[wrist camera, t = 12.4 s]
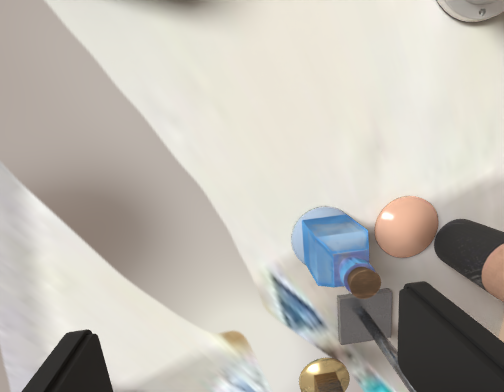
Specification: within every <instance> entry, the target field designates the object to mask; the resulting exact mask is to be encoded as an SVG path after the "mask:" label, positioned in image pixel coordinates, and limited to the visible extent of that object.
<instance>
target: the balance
mask: <svg viewBox="0 0 504 392" xmlns="http://www.w3.org/2000/svg"><path fill="white" fill-rule="evenodd" d="M337 303H338V334H339V342H340V344H341V345H345V344H351V343H358V342H364V341H371V340H375V342H376V343H377V345H378V346H379V348H380V349H381V351H382V352H383V354H384V355H385V356H386V358H387V359H388V361H389V362H390V364H391V365H392V367H393V368H394V369H395V371H396V372H397V374H398V375H399V377H400V378H401V380H402V381H403V383H404V384H405V385H406V387H407V388H408V390H409V391H410V392H415V390H414V389H413V387H412V386H411V385H410V383H409V382H408V380H407V379H406V378H405V376H404V375H403V373H402V372H401V370H400V367H399V365H398V352H397V350H396V349H395V348H394V346H393V345H392V344H391V342H390V341H389V340H388V339H387V338H390V337H391V313H392V292H391V291H390V290H389V289H381V290H378V292H377V293H376V294H375V295H374V296H372V297H370V298H367V299H360V298H356V297H355V296H354V295H353V294H346V295H339V296H337ZM348 384H349V373H348V371H347V369H346V367H345V365H344V364H343V363H342V362H340V361H339V360H336V359H333V358H321V359H317V360H315V361H313V362H311V363H310V364H308V365H307V366H306V367H305V368H304V369H303V371H302V372H301V374H300V377H299V385H300V389H301V392H345V390H346V389H347V387H348Z"/></svg>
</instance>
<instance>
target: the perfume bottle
mask: <svg viewBox="0 0 504 392" xmlns="http://www.w3.org/2000/svg"><path fill="white" fill-rule="evenodd" d="M302 232H303V247H304V262H305V264H306V265H307V267H308V269H309V271H310V272H311V274H312V276H313V278H314V279H315V281H316V283H317V285H318V286H327V287H340V286H345V287H346V289H347V290H349V291H350V292H351V293H352V294H353V295H354V296H355V297H356V298H360V299H367V298H370V297H372V296H374V295H375V294H376V293H377V292H378V290H379V288H380V286H381V279H380V277H379V275H378V274H377V273H376V272H375V270H374V268H373V267H372V266H371V265H370V264H369V242H368V230H367V229H365V228H364V227H363V226H361V225H360V224H359V223H357V222H356V221H355V220H353V219H352V218H351V217H349V216H348V215H347V214H345V215H337V216H330V217H322V218H314V219H307V220H302Z"/></svg>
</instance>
